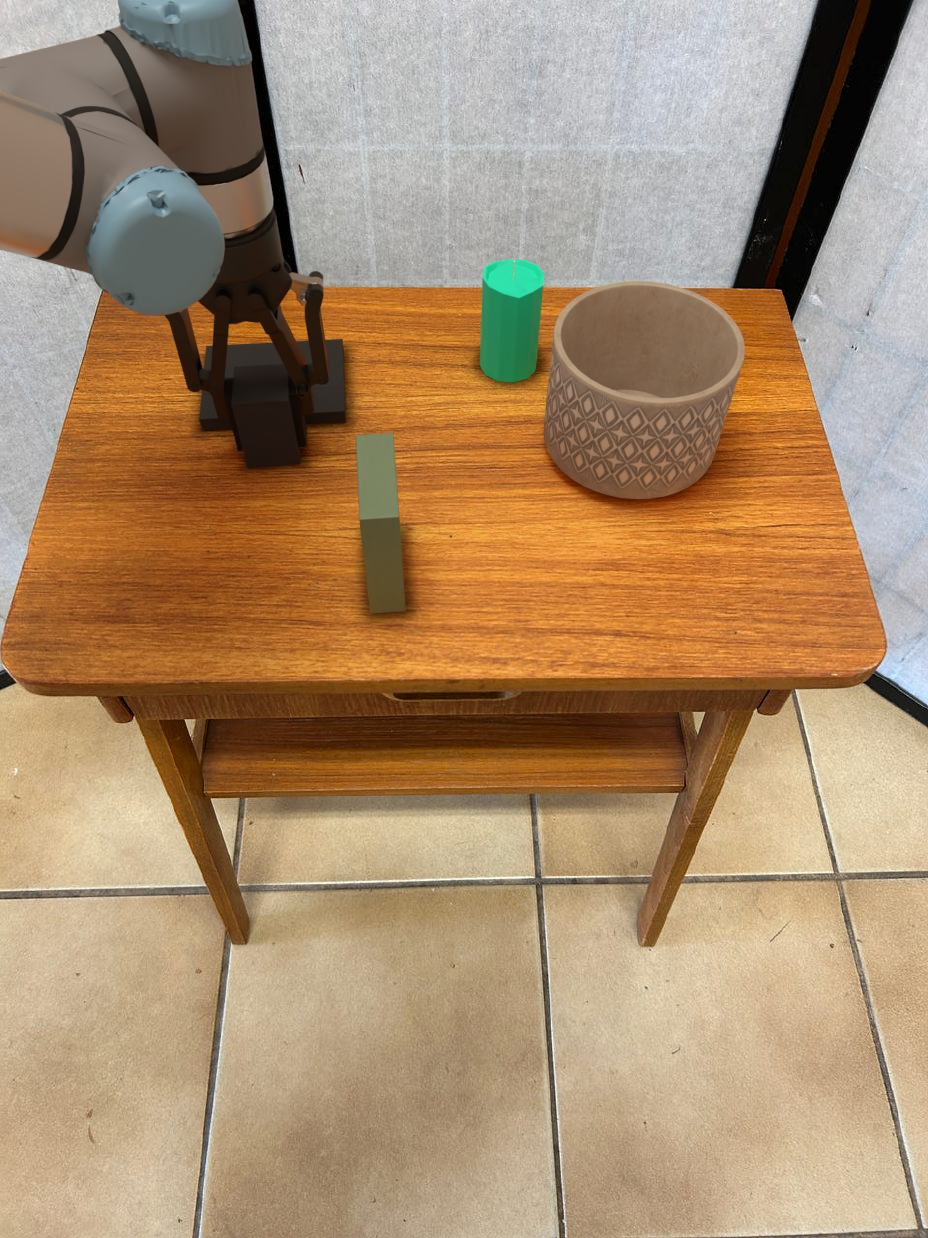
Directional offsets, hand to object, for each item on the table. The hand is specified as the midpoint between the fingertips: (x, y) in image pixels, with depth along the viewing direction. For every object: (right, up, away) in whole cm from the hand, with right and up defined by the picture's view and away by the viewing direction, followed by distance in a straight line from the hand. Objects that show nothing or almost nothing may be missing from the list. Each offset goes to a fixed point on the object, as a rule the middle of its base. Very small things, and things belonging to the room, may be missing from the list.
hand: (272, 438), depth 91 cm
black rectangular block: (0, +1, +2) cm, 2 cm away
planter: (+34, 0, +2) cm, 34 cm away
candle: (+23, +9, +9) cm, 26 cm away
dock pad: (-1, +6, +6) cm, 9 cm away
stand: (+11, -13, -8) cm, 19 cm away
